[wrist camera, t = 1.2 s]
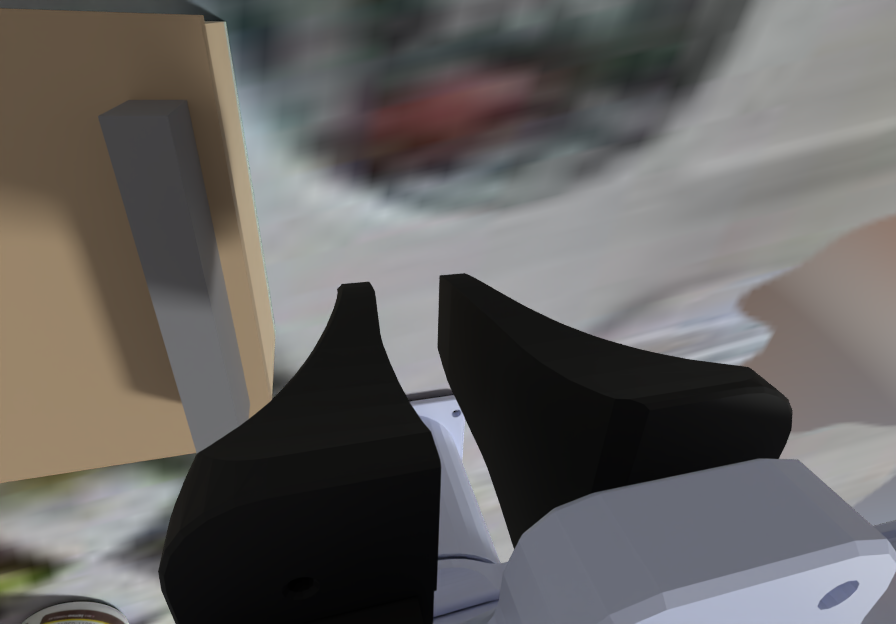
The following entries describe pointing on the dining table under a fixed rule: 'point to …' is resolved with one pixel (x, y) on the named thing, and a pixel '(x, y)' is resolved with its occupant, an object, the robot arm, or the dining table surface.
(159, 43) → the lid
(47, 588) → the dining table surface
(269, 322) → the box
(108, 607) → the supplement bottle
